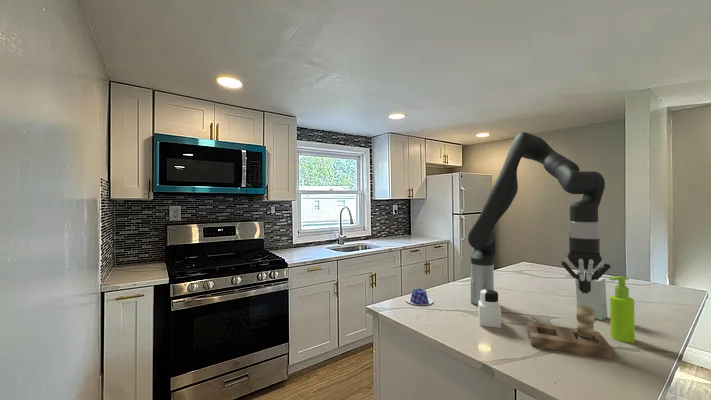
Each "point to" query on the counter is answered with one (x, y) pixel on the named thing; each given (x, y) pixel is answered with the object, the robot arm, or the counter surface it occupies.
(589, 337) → the peg
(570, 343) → the board
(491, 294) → the medicine bottle
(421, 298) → the pudding
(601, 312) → the skincare box
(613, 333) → the soap dispenser
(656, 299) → the counter surface
